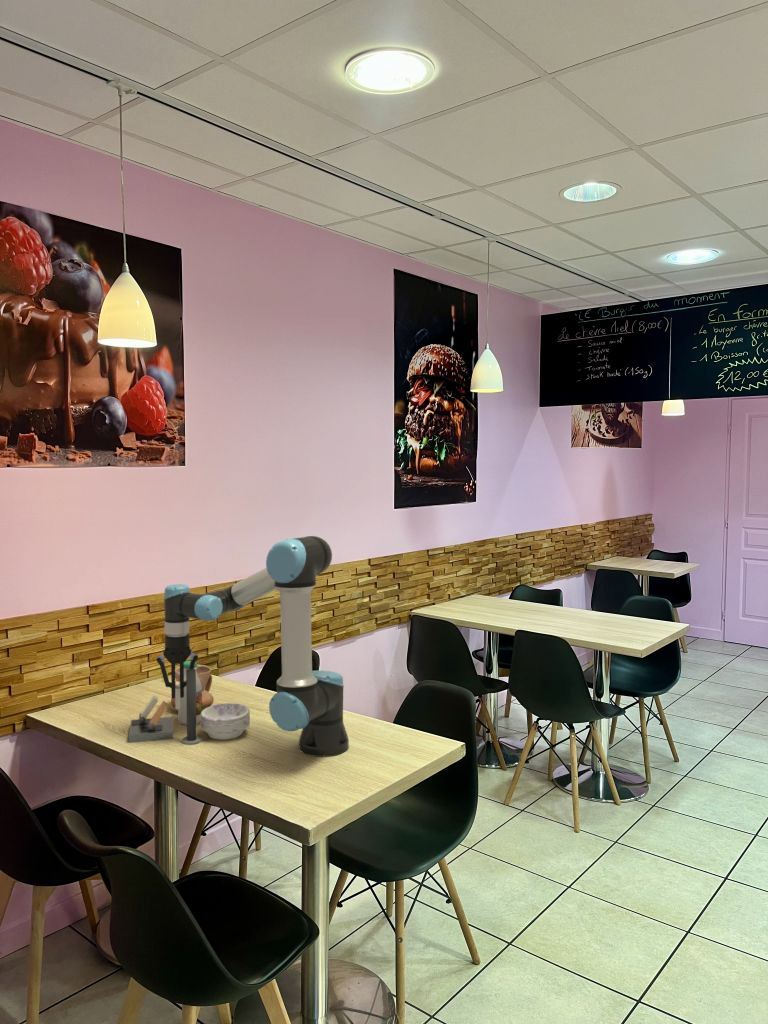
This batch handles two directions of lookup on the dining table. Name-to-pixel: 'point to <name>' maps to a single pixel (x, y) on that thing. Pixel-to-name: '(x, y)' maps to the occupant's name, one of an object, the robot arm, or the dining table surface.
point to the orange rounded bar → (157, 715)
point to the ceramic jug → (205, 681)
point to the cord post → (191, 709)
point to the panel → (160, 732)
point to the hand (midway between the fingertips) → (177, 707)
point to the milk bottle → (183, 701)
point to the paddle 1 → (148, 709)
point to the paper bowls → (225, 720)
